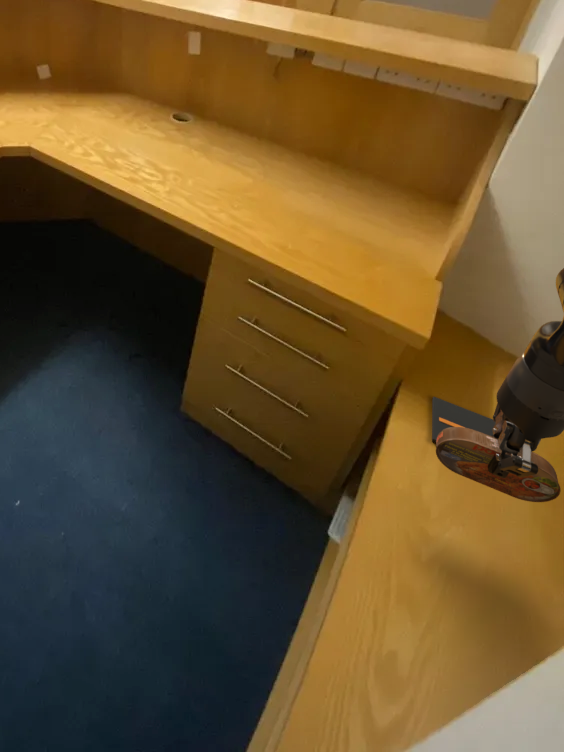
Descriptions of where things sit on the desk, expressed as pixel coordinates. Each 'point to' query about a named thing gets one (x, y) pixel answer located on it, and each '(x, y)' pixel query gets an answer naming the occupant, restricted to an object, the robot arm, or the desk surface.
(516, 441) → the robot arm
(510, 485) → the tin
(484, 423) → the mat
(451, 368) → the desk surface
